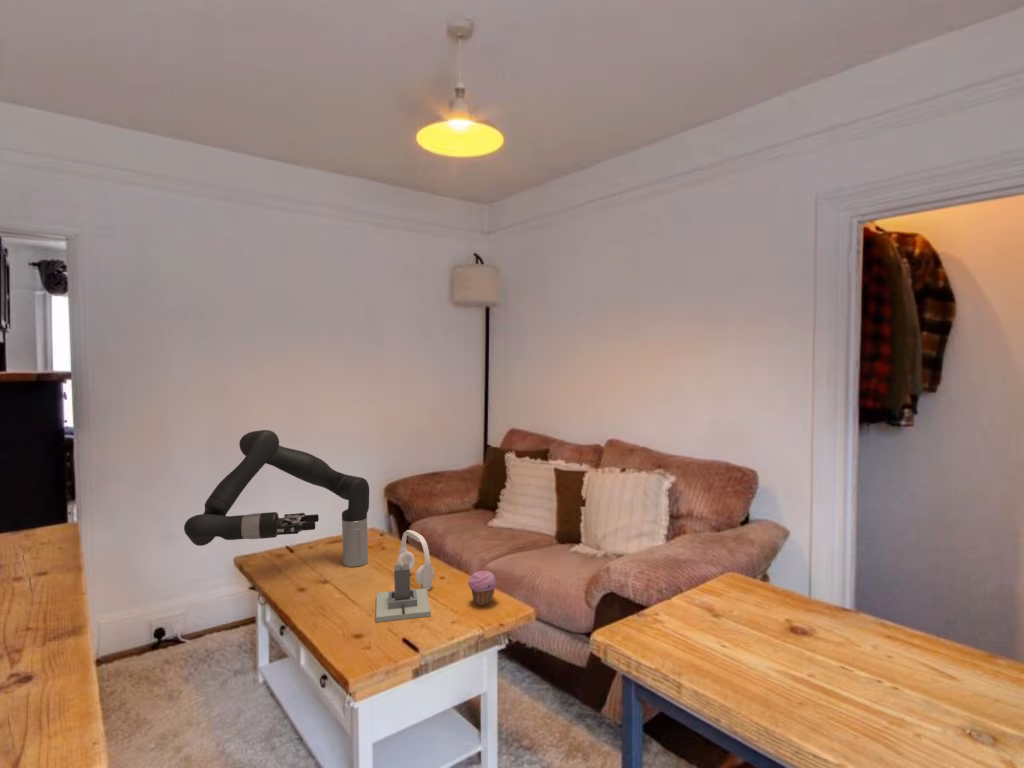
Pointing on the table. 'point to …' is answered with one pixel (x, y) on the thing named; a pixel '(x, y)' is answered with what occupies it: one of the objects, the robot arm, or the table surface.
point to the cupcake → (482, 587)
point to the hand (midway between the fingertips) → (316, 521)
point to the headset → (424, 571)
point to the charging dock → (402, 606)
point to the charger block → (402, 581)
